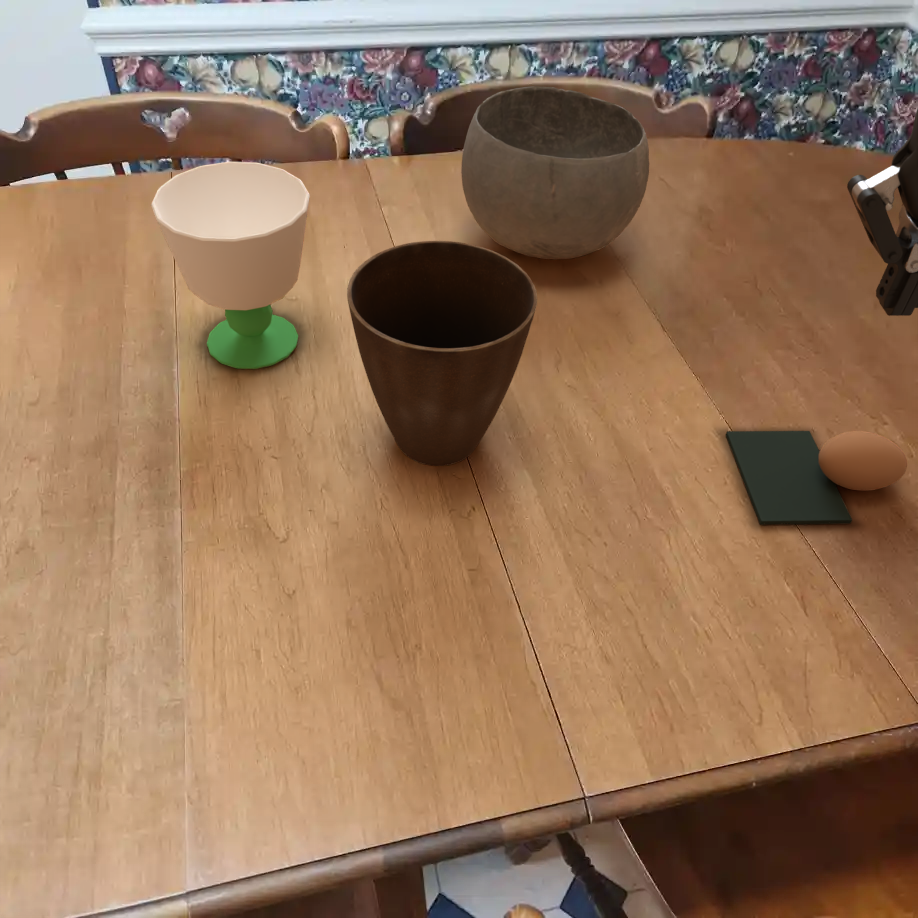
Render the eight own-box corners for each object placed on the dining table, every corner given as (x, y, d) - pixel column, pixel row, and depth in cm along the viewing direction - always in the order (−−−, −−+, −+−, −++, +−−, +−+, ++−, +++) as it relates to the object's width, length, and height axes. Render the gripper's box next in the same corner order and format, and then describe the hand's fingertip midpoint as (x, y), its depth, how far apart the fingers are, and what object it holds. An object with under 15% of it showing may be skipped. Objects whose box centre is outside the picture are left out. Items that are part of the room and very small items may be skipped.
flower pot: (347, 390, 85) (338, 244, 73) (499, 377, 87) (513, 234, 76) (364, 506, 75) (357, 358, 63) (535, 487, 77) (558, 341, 66)
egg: (833, 490, 75) (916, 500, 76) (844, 430, 74) (929, 440, 75) (800, 480, 80) (879, 489, 81) (811, 423, 79) (890, 433, 80)
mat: (850, 523, 76) (852, 520, 75) (759, 525, 75) (761, 521, 75) (808, 434, 83) (809, 430, 83) (725, 434, 83) (726, 431, 82)
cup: (328, 377, 86) (317, 234, 75) (182, 392, 83) (147, 245, 72) (315, 295, 95) (303, 156, 84) (183, 306, 93) (152, 165, 81)
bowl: (640, 296, 98) (669, 170, 87) (455, 286, 97) (462, 158, 87) (620, 202, 112) (644, 83, 102) (459, 193, 112) (466, 73, 101)
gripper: (932, 80, 46) (820, 342, 59) (1168, 86, 47) (1009, 342, 60) (876, 26, 52) (784, 277, 64) (1091, 32, 53) (959, 279, 65)
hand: (893, 308), depth 62 cm, fingers closed
